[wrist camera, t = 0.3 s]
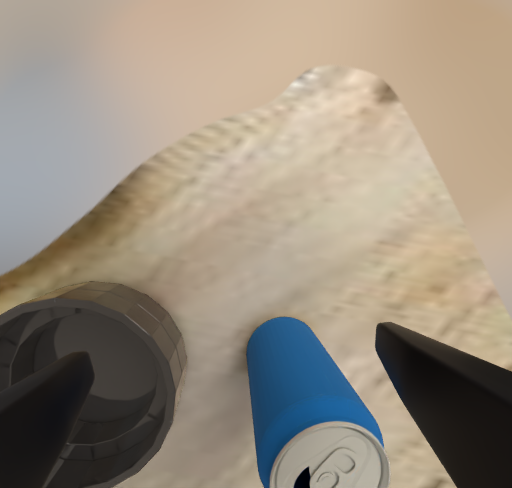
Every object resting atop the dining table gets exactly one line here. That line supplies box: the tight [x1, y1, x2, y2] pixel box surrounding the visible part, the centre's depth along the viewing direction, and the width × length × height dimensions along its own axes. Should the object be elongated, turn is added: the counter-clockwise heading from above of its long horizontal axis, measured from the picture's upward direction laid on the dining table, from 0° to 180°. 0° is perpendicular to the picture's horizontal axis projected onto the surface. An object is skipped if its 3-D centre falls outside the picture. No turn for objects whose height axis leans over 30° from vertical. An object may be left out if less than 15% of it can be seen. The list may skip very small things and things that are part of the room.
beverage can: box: [246, 317, 391, 488], centre depth 17 cm, size 6×6×12 cm
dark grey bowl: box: [0, 281, 187, 488], centre depth 19 cm, size 14×14×5 cm
